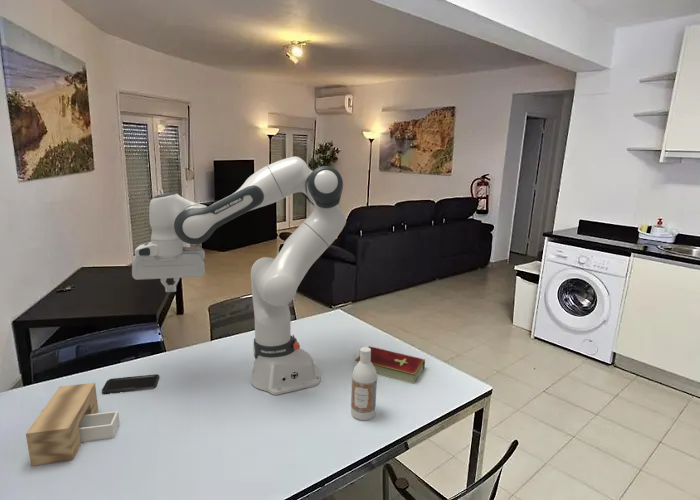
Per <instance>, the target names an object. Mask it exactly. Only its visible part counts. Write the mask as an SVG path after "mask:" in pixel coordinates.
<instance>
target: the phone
mask: <svg viewBox="0 0 700 500" xmlns="http://www.w3.org/2000/svg"><path fill="white" fill-rule="evenodd" d="M159 380H160V375H159V374H155V373H154V374H147V375H146V374H145V375H144V374H143V375H136V376H135V375H134V376H125V377H114V378H109V379H107V380H106V382H105V384H104V385H103V387H102V389H101V394H102V395H111V394H110V393H113V394H121V393H120V392H123V393H130V392H139V391H150V390H154V389H156V388H157V387H158V383H159Z"/></svg>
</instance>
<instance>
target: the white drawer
mask: <svg viewBox="0 0 700 500" xmlns="http://www.w3.org/2000/svg"><path fill="white" fill-rule="evenodd" d="M119 423H120V414H119V410H117V411H105V412H97V414H88V415H84V416H83V418H82V419H81V421H80V423H79V425H78V426H79V433H80V441H81V443H84V442H93V441H100V440H108V439H114V438H115V435H116V433H117V431H118V429H119V426H120V424H119Z"/></svg>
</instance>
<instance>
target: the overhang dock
mask: <svg viewBox="0 0 700 500" xmlns="http://www.w3.org/2000/svg"><path fill="white" fill-rule="evenodd" d="M97 413H99V405H98V396H97V388H96V382H91V383H89V382H88V383H80V384H72V385H61V386H59V387H58V388H57V390H56V391H55V393H54V394H53V395H52V397H51V398H50V399H49V400H48V402H47V404H46V405H45V406H44V408H42V411H41V412H40V413H39V415H38V416H37V418H36V419H35V421H33V422H32V424H31V426H30V427H29V428H28V430H27V431H26V433H25V437H26V438H25V439H26V444H27V449H28V455H29V461H30V462H29V463H30V466H31V467H32V466H34V467H35V466H39V465H41V466H42V465H47V464H54V463H62V462H69V461H73V460H74V459H75V457H76V456H77V453H78V451H79V450H80V447H81V445H82V442H81V441H80V433H79V426H78V425H79V423H80V421H81V419H82V418H83V416H84V415H88V414H97Z"/></svg>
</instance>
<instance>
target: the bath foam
mask: <svg viewBox="0 0 700 500" xmlns="http://www.w3.org/2000/svg"><path fill="white" fill-rule="evenodd" d="M359 355H360V361H359V362H358V364H357V363H356V365H355V366H354V369H353V370H352V375H351V397H350V398H351V400H350V401H351V402H350V414H351V416H352V417H353V418H355V419H357V420H360V421H367V420H371V419H373V417H375V415H376V407H377V387H378V385H377V384H378V374H377V373H376V369H375V367H374V366H373V364H372V363H371V361H370V360H371V349H370V348H368V346H363V347H361V348H360V351H359Z"/></svg>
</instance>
